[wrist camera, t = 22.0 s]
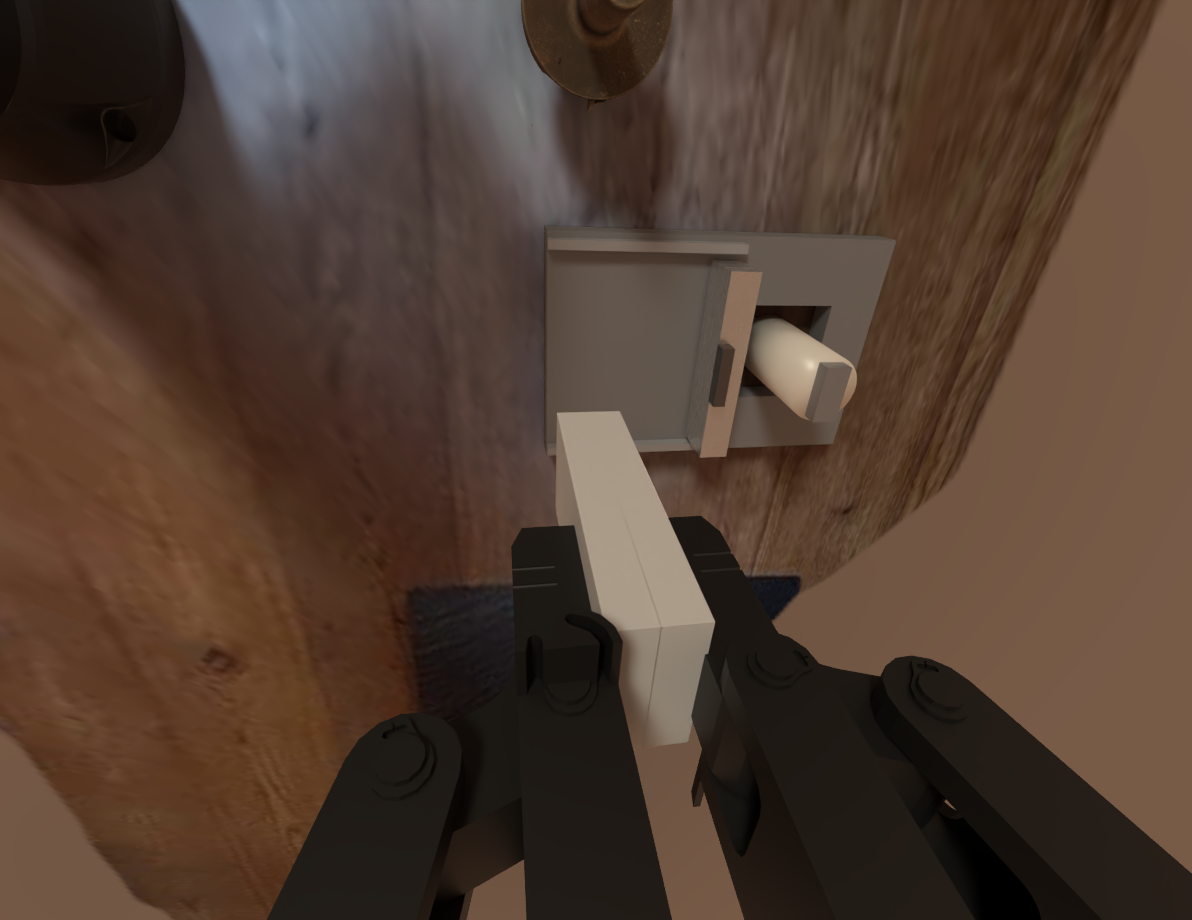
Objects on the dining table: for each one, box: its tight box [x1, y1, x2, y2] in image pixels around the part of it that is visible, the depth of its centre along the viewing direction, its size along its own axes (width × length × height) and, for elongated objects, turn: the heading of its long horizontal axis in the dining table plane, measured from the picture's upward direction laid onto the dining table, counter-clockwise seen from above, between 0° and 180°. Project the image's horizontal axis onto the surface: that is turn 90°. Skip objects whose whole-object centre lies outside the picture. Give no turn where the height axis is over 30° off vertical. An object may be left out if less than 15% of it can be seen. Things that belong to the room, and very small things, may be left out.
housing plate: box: [544, 226, 896, 456], centre depth 39 cm, size 24×16×3 cm, turn 87°
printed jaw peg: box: [744, 314, 857, 422], centre depth 37 cm, size 4×4×10 cm
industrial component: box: [521, 0, 673, 126], centre depth 25 cm, size 9×7×12 cm
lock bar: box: [685, 260, 763, 458], centre depth 37 cm, size 2×13×4 cm, turn 177°
